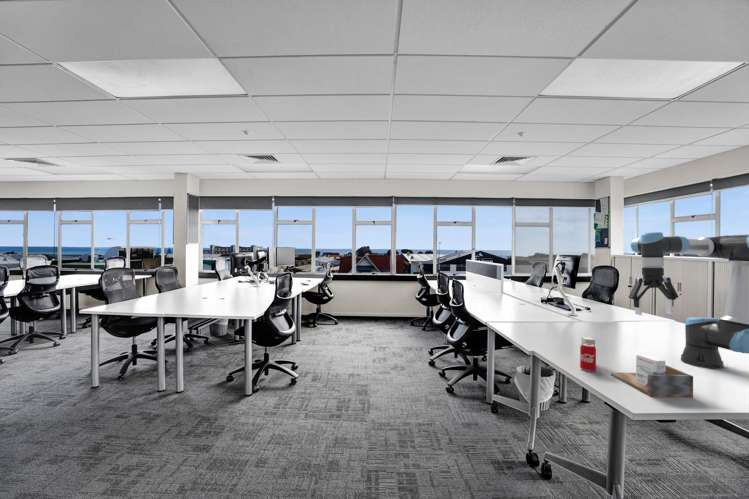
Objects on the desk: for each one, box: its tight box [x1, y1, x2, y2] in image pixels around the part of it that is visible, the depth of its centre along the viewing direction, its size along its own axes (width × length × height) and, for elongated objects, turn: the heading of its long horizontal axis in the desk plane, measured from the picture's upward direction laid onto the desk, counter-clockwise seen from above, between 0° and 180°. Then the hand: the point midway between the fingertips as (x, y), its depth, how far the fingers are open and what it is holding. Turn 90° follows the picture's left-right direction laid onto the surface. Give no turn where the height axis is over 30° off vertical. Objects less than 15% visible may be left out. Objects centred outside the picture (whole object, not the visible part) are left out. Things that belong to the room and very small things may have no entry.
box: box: [581, 336, 596, 346], centre depth 162 cm, size 5×4×13 cm
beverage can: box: [579, 342, 597, 373], centre depth 154 cm, size 6×6×12 cm
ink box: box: [635, 354, 667, 387], centre depth 133 cm, size 8×5×12 cm, turn 11°
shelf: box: [610, 365, 694, 399], centre depth 137 cm, size 16×22×8 cm
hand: (653, 314), depth 146 cm, fingers open, 13 cm apart
